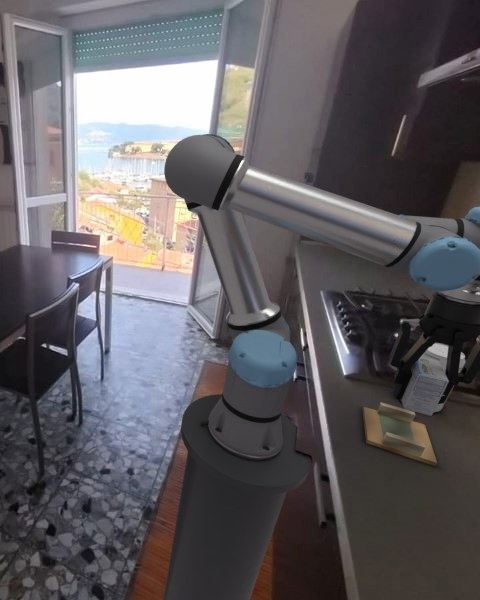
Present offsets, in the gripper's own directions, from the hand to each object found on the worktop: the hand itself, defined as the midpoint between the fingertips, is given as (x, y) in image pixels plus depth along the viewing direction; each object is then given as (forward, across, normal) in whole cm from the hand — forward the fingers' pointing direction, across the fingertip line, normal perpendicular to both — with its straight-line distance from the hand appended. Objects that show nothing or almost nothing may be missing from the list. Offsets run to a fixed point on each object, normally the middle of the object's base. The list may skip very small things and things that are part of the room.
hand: (413, 400), depth 73 cm
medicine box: (0, 0, 0) cm, 0 cm away
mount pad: (+10, 0, 0) cm, 10 cm away
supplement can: (+10, +6, +16) cm, 20 cm away
